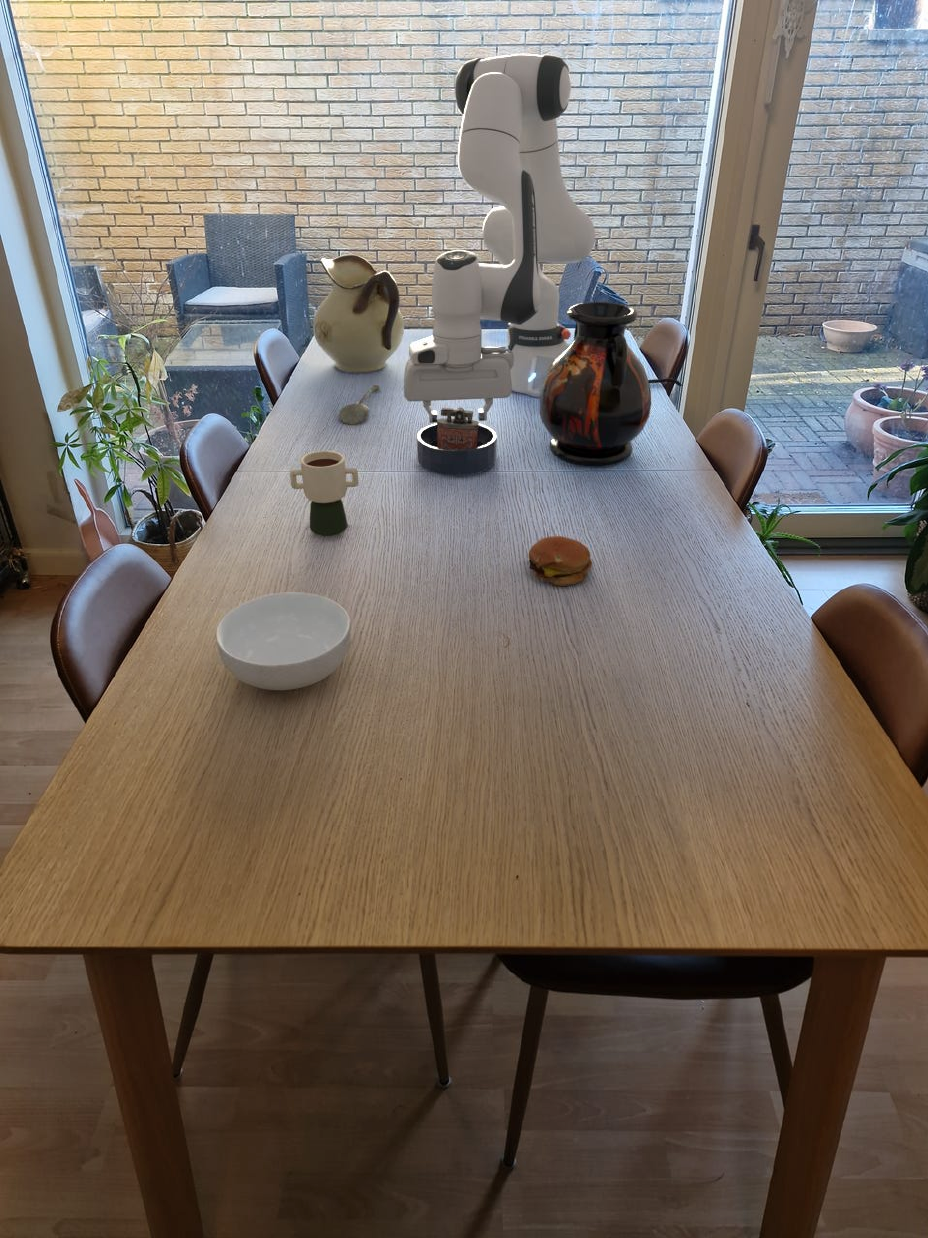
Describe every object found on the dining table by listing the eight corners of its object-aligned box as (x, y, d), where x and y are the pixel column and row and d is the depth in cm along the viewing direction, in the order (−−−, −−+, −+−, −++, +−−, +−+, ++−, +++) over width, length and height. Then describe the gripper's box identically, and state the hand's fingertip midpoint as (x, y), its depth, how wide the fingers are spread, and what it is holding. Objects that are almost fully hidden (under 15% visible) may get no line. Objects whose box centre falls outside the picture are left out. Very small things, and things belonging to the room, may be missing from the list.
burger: (579, 554, 142) (581, 528, 139) (598, 583, 134) (600, 556, 132) (520, 560, 140) (521, 534, 138) (535, 590, 133) (536, 563, 130)
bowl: (490, 445, 180) (491, 420, 177) (500, 476, 167) (501, 449, 164) (416, 448, 179) (415, 422, 176) (420, 479, 166) (419, 452, 163)
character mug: (361, 520, 152) (357, 448, 145) (361, 539, 146) (356, 466, 139) (297, 522, 151) (289, 451, 144) (294, 542, 145) (286, 468, 138)
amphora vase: (520, 440, 183) (526, 299, 167) (615, 428, 188) (628, 291, 173) (562, 481, 165) (572, 329, 150) (664, 467, 171) (684, 319, 156)
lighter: (477, 456, 174) (480, 407, 168) (476, 463, 171) (478, 413, 166) (437, 453, 174) (438, 404, 169) (435, 460, 171) (435, 410, 166)
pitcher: (330, 350, 235) (322, 250, 221) (417, 355, 232) (415, 253, 218) (305, 377, 216) (295, 269, 202) (400, 382, 213) (396, 273, 200)
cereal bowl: (294, 727, 106) (288, 680, 102) (195, 682, 113) (186, 637, 109) (379, 657, 118) (376, 613, 114) (284, 621, 125) (279, 578, 122)
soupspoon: (334, 425, 191) (364, 429, 190) (334, 411, 189) (363, 414, 188) (363, 389, 208) (390, 392, 208) (363, 375, 206) (390, 378, 206)
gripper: (511, 341, 164) (509, 412, 172) (401, 344, 163) (404, 416, 170) (516, 351, 159) (514, 424, 167) (402, 355, 158) (405, 429, 165)
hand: (457, 420), depth 169 cm, fingers open, 8 cm apart
